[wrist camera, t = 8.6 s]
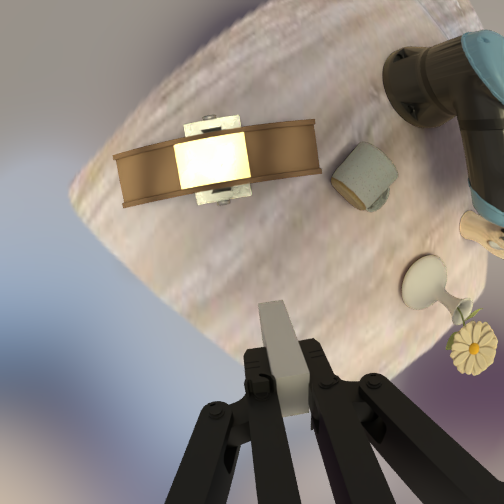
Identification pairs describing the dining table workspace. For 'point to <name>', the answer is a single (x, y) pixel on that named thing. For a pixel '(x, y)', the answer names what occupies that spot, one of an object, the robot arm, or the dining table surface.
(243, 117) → the dining table surface
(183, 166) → the block
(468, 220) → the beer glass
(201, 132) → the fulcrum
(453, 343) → the flower in vase
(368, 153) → the ceramic mug
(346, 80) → the dining table surface
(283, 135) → the beam
